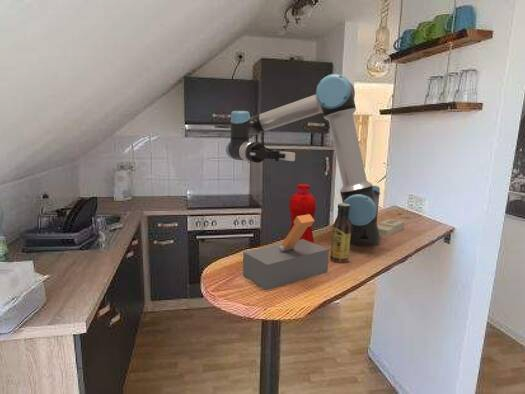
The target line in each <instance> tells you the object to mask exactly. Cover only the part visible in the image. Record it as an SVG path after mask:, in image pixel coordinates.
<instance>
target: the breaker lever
mask: <svg viewBox="0 0 525 394" xmlns="http://www.w3.org/2000/svg"><path fill="white" fill-rule="evenodd" d="M314 223H315V219H314V217H313V218H312V216H311V215H310V214H308V215H302V216H297V217H296V218H295V220H294V224H295V225H294V226H293V228H292V229H291V231H290V230H289V231H290V233H289V232H288V234H287V235H286V237H285V239H284V240H283V242H282V243H283V244H282V243H281V244H282V245H281V246H279V251H280V252H283V251H287V250H291V249H295V245H296V244H297V242H298V241H299V239H300V238H301V236H302V235H303V233H304V232H305V230H306V229H307V227H310V226H313V224H314Z"/></svg>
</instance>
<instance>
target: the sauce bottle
mask: <svg viewBox="0 0 525 394" xmlns="http://www.w3.org/2000/svg"><path fill="white" fill-rule="evenodd" d="M349 210H350V204H346V203H343V202H339V203H338V204H337V214H336V218H335V220H334V222H333V225H332V230H331V238H330V242H331V243H330V249H329V251H330V252H329V254H330V255H329V257H330V260H331V261H333V262H335V263H345V262H347V261H348V260H349V253H350V245H351V243H350V236H351V222H350V220H349Z"/></svg>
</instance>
